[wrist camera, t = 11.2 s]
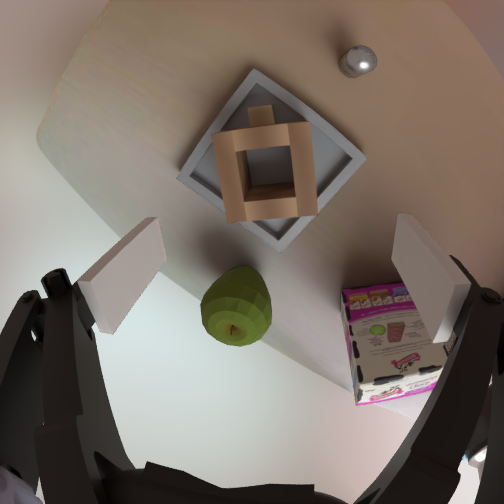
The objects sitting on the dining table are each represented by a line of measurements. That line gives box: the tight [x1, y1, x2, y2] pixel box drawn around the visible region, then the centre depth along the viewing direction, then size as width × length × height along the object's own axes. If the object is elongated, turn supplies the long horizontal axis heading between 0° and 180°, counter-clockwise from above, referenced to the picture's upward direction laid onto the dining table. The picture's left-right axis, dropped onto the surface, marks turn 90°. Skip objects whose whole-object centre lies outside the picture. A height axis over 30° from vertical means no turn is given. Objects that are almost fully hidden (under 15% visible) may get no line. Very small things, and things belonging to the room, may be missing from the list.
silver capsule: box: [339, 45, 377, 78], centre depth 22 cm, size 3×3×6 cm
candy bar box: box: [341, 281, 448, 406], centre depth 31 cm, size 11×5×16 cm, turn 101°
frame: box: [211, 105, 318, 223], centre depth 27 cm, size 9×11×6 cm
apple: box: [200, 266, 272, 346], centre depth 34 cm, size 9×8×12 cm
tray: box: [176, 69, 367, 253], centre depth 30 cm, size 15×15×2 cm
